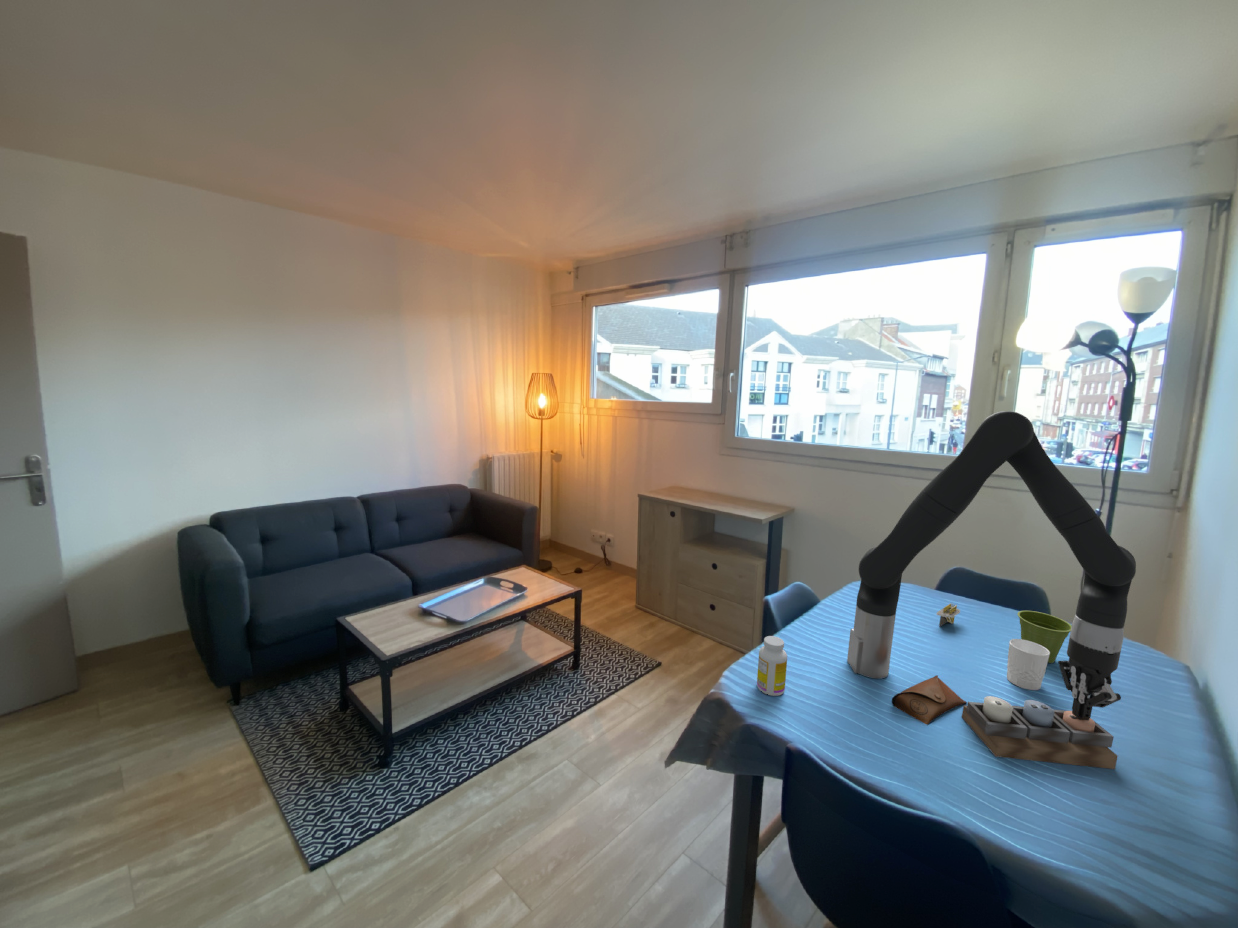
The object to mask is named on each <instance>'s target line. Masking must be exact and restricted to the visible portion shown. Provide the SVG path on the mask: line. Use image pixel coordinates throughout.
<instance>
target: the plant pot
mask: <svg viewBox="0 0 1238 928" xmlns="http://www.w3.org/2000/svg"><path fill="white" fill-rule="evenodd" d="M1016 614H1017V616H1018V618H1019V624H1020V639H1022V640H1027V641H1031V642H1034V643H1037V644H1039V645H1041V646H1043V647H1045V648H1046V649H1048V650H1049V652H1050V655H1049V659H1048V663H1049V664H1053V663H1054V662H1055V661H1056V659H1057V657H1058V656H1059V652H1060V651H1061V648H1062V646H1063V645H1064V642H1065V640H1066V639H1067V638H1068V636H1069V635H1070V633H1071V627H1072V623H1069V622H1068V621H1066V620H1064V619H1061V618H1060V617H1057V616H1054V615H1052V614H1049V613H1044V612H1039V611H1033V610H1020V611H1018V612H1017V613H1016ZM1048 663H1047V664H1048Z"/></svg>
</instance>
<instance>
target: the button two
mask: <svg viewBox="0 0 1238 928" xmlns="http://www.w3.org/2000/svg"><path fill="white" fill-rule="evenodd" d="M1023 707H1024V708H1023V713H1022V716H1023V718H1024V719H1025V720H1027V721H1028V722H1030V723H1032V724H1034V725H1036V726H1039V727H1045V728H1050V727H1052V723H1053V717H1054V710H1055V709H1053V708H1052V707H1051V706H1049V705H1047V704H1046V703H1043V702H1041V701H1038V700H1033V699H1025V701H1024V702H1023Z"/></svg>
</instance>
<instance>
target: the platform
mask: <svg viewBox="0 0 1238 928" xmlns="http://www.w3.org/2000/svg"><path fill="white" fill-rule="evenodd" d="M957 607H958V605H957V604H954V603H951V602H950V603H949V604H948V605H946V606H944V607H943V608H942V609H940V610H938V611H937V612H936V615H937V616H939V624H938V627H939V628H940V627H942V626H944V625H945V624H947V623H950V624H951V625H953V624H954V622H955V617H956V616H957V615H959V614H961V609H959V608H957Z"/></svg>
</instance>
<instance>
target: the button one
mask: <svg viewBox="0 0 1238 928" xmlns="http://www.w3.org/2000/svg"><path fill="white" fill-rule="evenodd" d="M983 699H984V700H983V703H984V704H983V710H982V712H983V714H984V715H985V716H986V717H987V718H989V719H991V720H993V721H995V722H998V723H1004V724H1008V723H1010V721H1011V716H1012V710H1013V707H1012V706H1013V705H1011V703H1010V702H1008V701H1006V700H1004V699H1002V698H999V697H996V696H990V695H988V696H985V697H984V698H983Z"/></svg>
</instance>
